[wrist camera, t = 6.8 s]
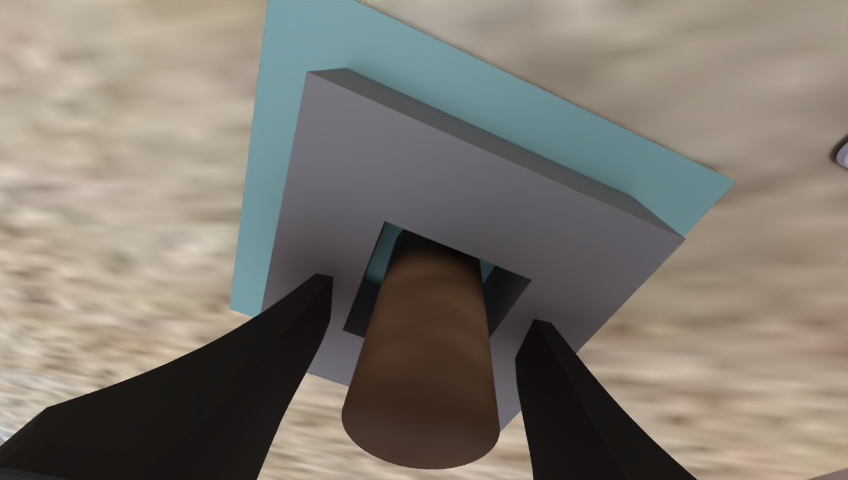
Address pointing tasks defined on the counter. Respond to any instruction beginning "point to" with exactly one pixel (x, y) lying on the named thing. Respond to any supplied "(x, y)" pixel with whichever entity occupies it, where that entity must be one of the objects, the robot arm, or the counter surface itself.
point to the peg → (425, 362)
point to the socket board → (448, 88)
